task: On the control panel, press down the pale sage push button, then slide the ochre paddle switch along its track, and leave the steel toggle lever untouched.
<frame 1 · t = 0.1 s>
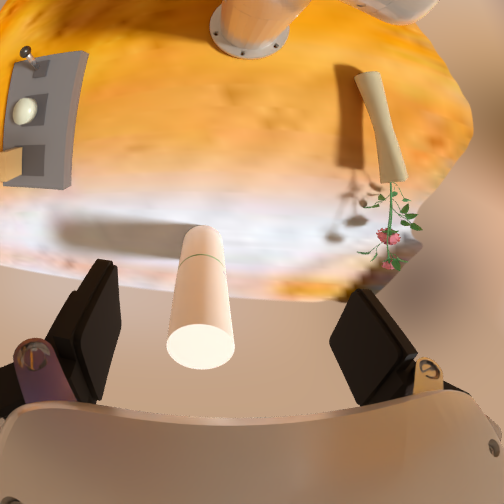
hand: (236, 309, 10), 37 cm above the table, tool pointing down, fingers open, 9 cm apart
cylindrical container: (202, 243, 49), on the table
control panel: (41, 120, 33), on the table
paddle switch: (10, 163, 30), point 6 cm above the table, slide at 0.0 cm
toggle lever: (30, 58, 22), point 7 cm above the table, hinge at -25.0°
push button: (24, 111, 27), point 6 cm above the table, slide at 0.0 cm
flower vase: (372, 164, 46), on the table
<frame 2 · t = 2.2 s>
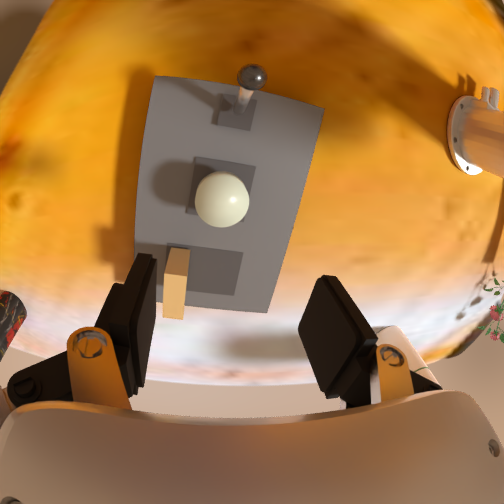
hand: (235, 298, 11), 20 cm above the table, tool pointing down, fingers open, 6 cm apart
cylindrical container: (384, 339, 45), on the table
control panel: (216, 200, 29), on the table
deodorant: (14, 305, 31), on the table
paddle switch: (176, 282, 26), point 6 cm above the table, slide at 0.0 cm
toggle lever: (245, 91, 18), point 7 cm above the table, hinge at -25.0°
push button: (221, 198, 23), point 6 cm above the table, slide at 0.0 cm
flower vase: (498, 256, 42), on the table
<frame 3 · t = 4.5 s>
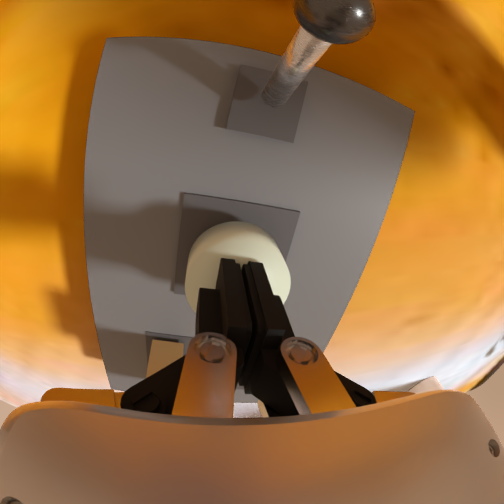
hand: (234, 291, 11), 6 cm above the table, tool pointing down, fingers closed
cylindrical container: (418, 390, 34), on the table
control panel: (223, 258, 17), on the table
paddle switch: (165, 395, 15), point 6 cm above the table, slide at 0.0 cm
toggle lever: (303, 52, 6), point 7 cm above the table, hinge at -25.0°
push button: (236, 276, 12), point 5 cm above the table, slide at 0.8 cm, touching gripper
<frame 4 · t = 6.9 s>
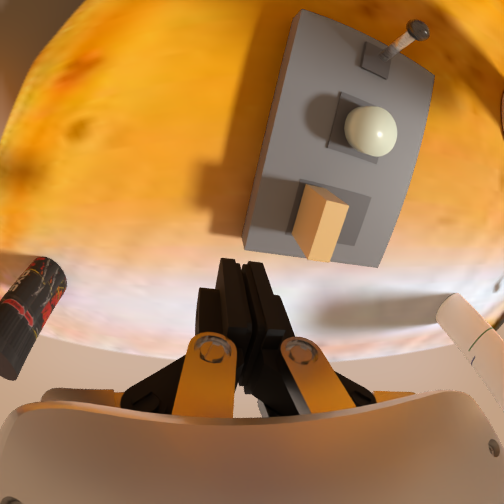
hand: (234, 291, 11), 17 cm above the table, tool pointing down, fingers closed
cylindrical container: (448, 307, 42), on the table
control panel: (341, 144, 26), on the table
deodorant: (49, 276, 28), on the table
paddle switch: (317, 221, 23), point 6 cm above the table, slide at 0.0 cm
toggle lever: (403, 41, 14), point 7 cm above the table, hinge at -25.0°
push button: (371, 130, 20), point 5 cm above the table, slide at 0.9 cm
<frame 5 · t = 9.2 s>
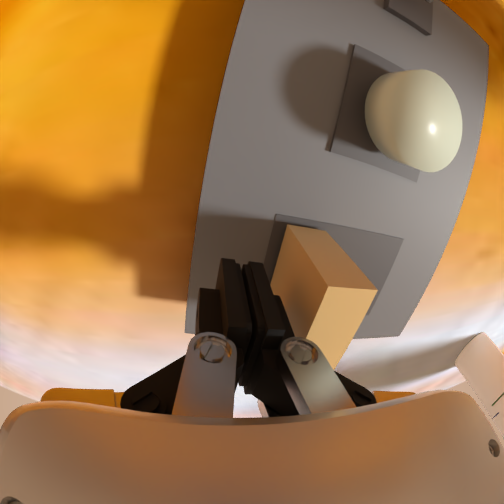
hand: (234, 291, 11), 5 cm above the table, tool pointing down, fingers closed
cylindrical container: (470, 348, 31), on the table
control panel: (353, 144, 14), on the table
paddle switch: (307, 303, 12), point 6 cm above the table, slide at 0.0 cm, touching gripper
push button: (416, 118, 9), point 5 cm above the table, slide at 0.9 cm
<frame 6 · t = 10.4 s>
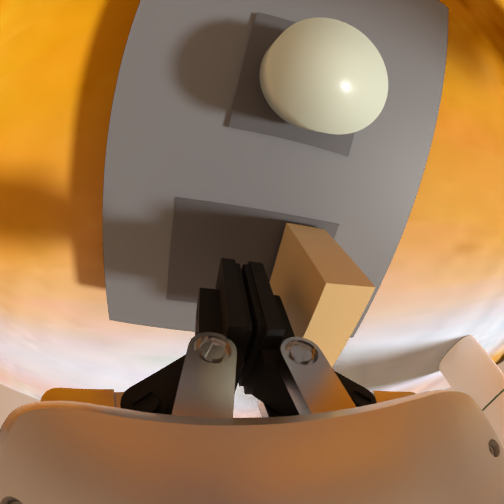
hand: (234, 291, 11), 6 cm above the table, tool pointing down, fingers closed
cylindrical container: (455, 352, 30), on the table
control panel: (279, 122, 13), on the table
paddle switch: (306, 300, 12), point 6 cm above the table, slide at 4.6 cm, touching gripper
push button: (323, 76, 8), point 5 cm above the table, slide at 0.9 cm
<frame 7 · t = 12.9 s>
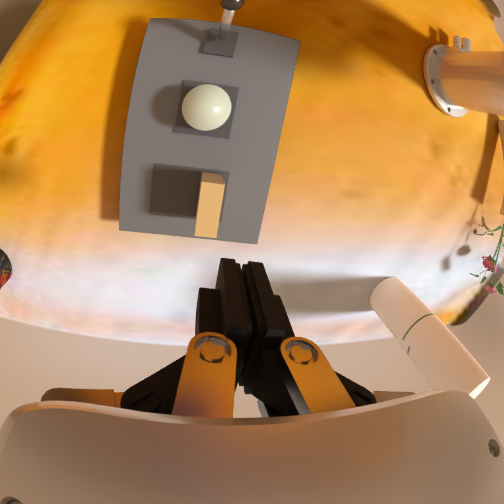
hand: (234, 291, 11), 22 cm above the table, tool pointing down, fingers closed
cylindrical container: (385, 293, 44), on the table
control panel: (202, 127, 28), on the table
deodorant: (0, 263, 29), on the table
paddle switch: (208, 202, 26), point 6 cm above the table, slide at 4.7 cm
toggle lever: (227, 16, 17), point 7 cm above the table, hinge at -25.0°
push button: (206, 107, 22), point 5 cm above the table, slide at 0.9 cm
flower vase: (488, 197, 40), on the table
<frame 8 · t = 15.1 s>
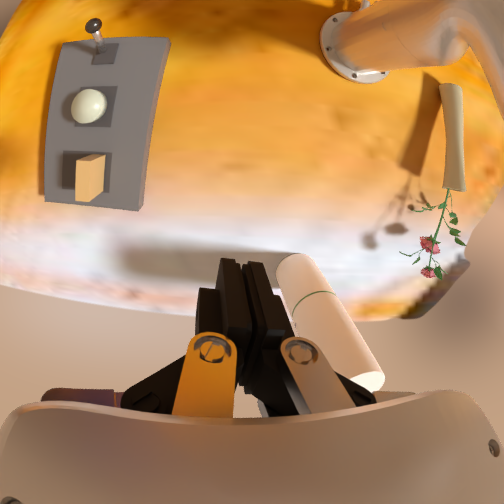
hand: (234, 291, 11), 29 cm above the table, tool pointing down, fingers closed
cylindrical container: (295, 271, 47), on the table
control panel: (101, 120, 31), on the table
paddle switch: (90, 176, 29), point 6 cm above the table, slide at 4.7 cm
toggle lever: (97, 36, 19), point 7 cm above the table, hinge at -25.0°
push button: (89, 106, 25), point 5 cm above the table, slide at 0.9 cm
flower vase: (429, 170, 41), on the table
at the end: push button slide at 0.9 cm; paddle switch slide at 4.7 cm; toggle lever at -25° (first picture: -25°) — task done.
